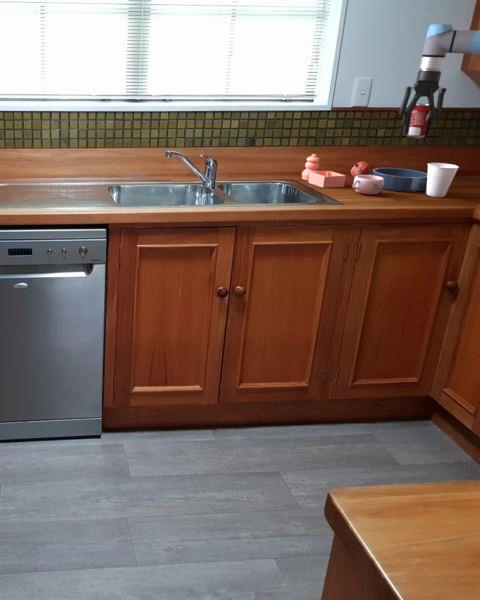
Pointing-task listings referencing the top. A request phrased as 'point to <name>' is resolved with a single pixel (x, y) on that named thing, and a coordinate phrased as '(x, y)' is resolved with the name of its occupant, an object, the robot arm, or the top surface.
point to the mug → (368, 184)
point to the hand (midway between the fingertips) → (414, 134)
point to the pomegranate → (360, 169)
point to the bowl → (402, 179)
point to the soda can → (418, 121)
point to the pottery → (321, 175)
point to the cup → (439, 178)
